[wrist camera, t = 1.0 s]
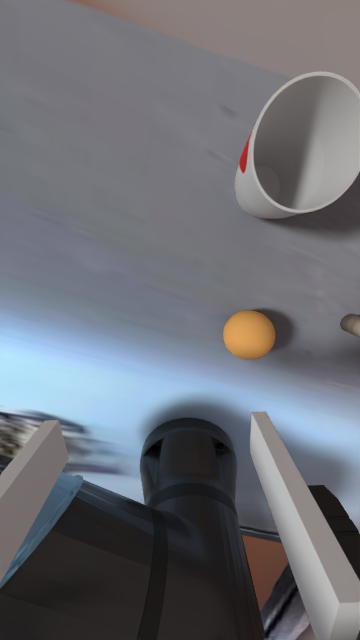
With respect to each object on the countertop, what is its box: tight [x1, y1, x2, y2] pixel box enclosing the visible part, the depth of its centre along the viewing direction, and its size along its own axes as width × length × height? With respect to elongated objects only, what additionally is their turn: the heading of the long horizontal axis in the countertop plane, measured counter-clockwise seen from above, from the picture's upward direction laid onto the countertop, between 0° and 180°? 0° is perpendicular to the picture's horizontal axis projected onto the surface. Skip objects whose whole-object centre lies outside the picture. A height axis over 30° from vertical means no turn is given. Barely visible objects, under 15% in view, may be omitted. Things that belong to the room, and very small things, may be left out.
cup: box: [235, 72, 360, 219], centre depth 19 cm, size 8×8×10 cm
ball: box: [223, 310, 275, 360], centre depth 26 cm, size 6×6×6 cm
